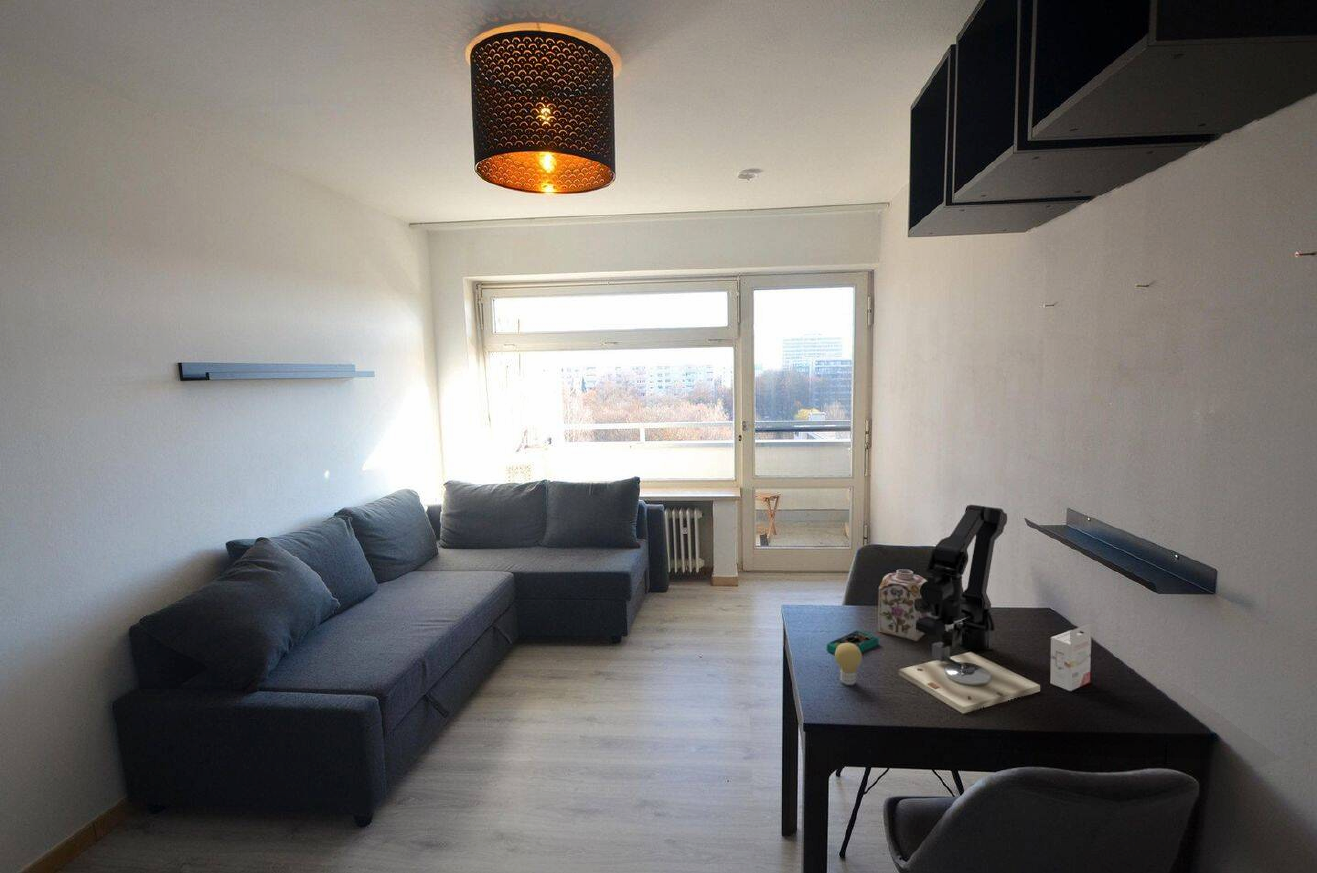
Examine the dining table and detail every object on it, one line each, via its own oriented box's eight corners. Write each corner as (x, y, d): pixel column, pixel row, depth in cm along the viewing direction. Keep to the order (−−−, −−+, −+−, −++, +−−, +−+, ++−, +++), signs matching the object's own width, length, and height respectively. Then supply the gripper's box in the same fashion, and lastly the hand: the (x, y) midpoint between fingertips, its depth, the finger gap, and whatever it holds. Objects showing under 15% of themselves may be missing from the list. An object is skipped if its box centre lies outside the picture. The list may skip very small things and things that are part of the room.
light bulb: (863, 690, 153) (863, 650, 152) (836, 688, 154) (836, 649, 153) (859, 677, 159) (859, 639, 158) (833, 676, 160) (833, 638, 159)
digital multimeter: (880, 645, 178) (880, 635, 178) (848, 661, 169) (848, 650, 169) (857, 638, 184) (857, 628, 183) (825, 652, 175) (825, 642, 174)
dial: (1000, 680, 152) (1000, 661, 151) (970, 689, 148) (970, 670, 147) (950, 656, 165) (950, 639, 165) (921, 664, 161) (921, 646, 161)
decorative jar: (877, 632, 186) (877, 572, 184) (892, 619, 195) (892, 563, 193) (918, 642, 178) (919, 580, 177) (932, 629, 187) (933, 570, 185)
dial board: (970, 657, 168) (970, 651, 168) (1040, 691, 150) (1040, 684, 149) (899, 675, 160) (899, 668, 159) (963, 713, 141) (963, 706, 141)
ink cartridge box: (1069, 674, 157) (1071, 617, 156) (1090, 683, 153) (1092, 624, 151) (1048, 683, 153) (1050, 624, 152) (1069, 692, 149) (1071, 631, 148)
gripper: (946, 577, 172) (945, 632, 174) (898, 591, 164) (898, 649, 165) (984, 589, 163) (983, 647, 164) (935, 605, 154) (934, 666, 156)
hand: (949, 651), depth 163 cm, fingers closed
